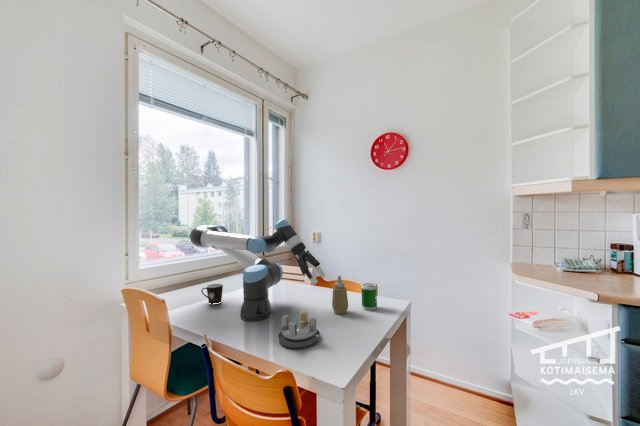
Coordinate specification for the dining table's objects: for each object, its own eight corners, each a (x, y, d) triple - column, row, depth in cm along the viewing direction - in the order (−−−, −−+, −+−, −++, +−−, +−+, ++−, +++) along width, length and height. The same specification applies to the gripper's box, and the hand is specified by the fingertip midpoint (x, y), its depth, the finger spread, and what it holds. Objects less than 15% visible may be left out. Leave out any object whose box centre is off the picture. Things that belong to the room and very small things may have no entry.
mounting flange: (271, 346, 97) (270, 340, 97) (289, 328, 112) (289, 323, 112) (311, 352, 92) (311, 346, 92) (325, 332, 107) (324, 326, 107)
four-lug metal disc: (275, 339, 97) (274, 323, 97) (290, 324, 110) (290, 310, 110) (309, 343, 93) (309, 326, 93) (321, 327, 106) (320, 312, 106)
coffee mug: (226, 302, 148) (226, 284, 148) (213, 307, 141) (212, 288, 141) (213, 299, 155) (213, 282, 155) (200, 303, 147) (199, 285, 147)
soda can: (374, 312, 127) (373, 287, 127) (359, 309, 131) (358, 285, 131) (379, 307, 134) (378, 283, 134) (365, 304, 138) (364, 282, 138)
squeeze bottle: (347, 316, 123) (346, 277, 123) (330, 315, 125) (329, 277, 125) (349, 309, 131) (348, 274, 131) (333, 309, 133) (332, 273, 133)
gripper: (291, 244, 123) (317, 282, 119) (309, 239, 146) (332, 270, 142) (280, 253, 125) (305, 291, 121) (300, 246, 148) (321, 278, 144)
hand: (320, 280), depth 131 cm, fingers open, 13 cm apart
